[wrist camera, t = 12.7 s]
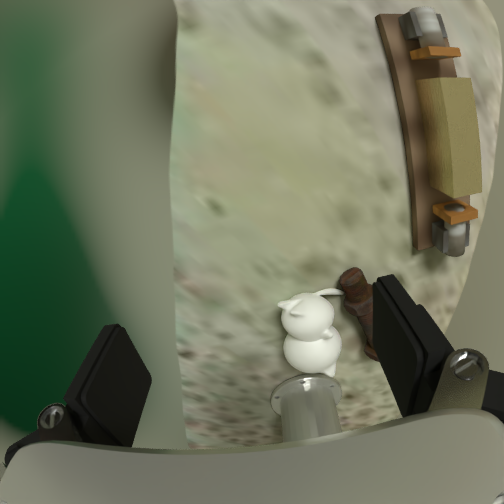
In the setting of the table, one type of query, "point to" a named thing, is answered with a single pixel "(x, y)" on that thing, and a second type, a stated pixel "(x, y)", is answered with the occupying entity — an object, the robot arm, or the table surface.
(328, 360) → the cat figurine
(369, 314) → the bolt
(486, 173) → the table surface
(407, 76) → the shaft base
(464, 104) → the tan rectangular block
